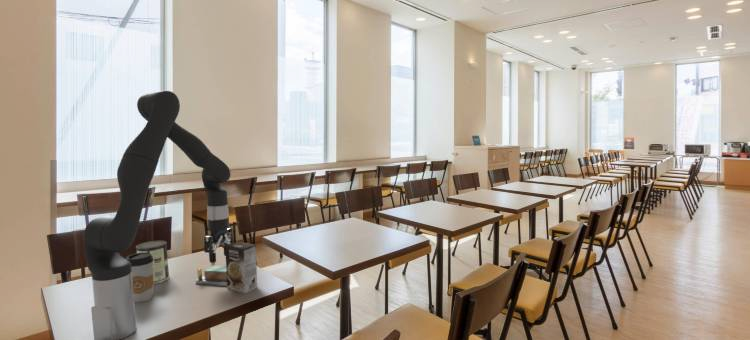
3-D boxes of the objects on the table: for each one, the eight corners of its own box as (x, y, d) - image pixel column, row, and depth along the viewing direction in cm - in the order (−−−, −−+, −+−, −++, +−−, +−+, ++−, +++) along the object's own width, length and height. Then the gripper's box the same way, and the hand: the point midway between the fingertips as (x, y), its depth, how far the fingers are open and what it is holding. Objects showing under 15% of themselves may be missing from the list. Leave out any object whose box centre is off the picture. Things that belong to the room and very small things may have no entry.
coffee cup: (124, 305, 129) (120, 261, 128) (132, 295, 137) (128, 253, 136) (152, 301, 132) (149, 258, 130) (158, 292, 140) (155, 251, 138)
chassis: (228, 286, 143) (228, 273, 143) (195, 283, 147) (194, 270, 146) (245, 275, 154) (245, 262, 154) (214, 273, 157) (213, 260, 157)
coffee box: (226, 289, 141) (224, 245, 140) (240, 282, 147) (238, 240, 145) (244, 293, 137) (242, 248, 135) (258, 287, 143) (256, 243, 141)
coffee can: (153, 273, 157) (151, 239, 156) (175, 276, 155) (172, 241, 153) (132, 283, 147) (129, 247, 146) (154, 286, 145) (152, 249, 143)
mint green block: (204, 279, 148) (204, 270, 148) (212, 273, 154) (212, 265, 153) (230, 279, 147) (229, 271, 147) (236, 274, 152) (236, 266, 152)
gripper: (221, 212, 156) (223, 252, 157) (196, 220, 142) (199, 264, 143) (238, 213, 154) (239, 254, 155) (214, 221, 140) (217, 265, 141)
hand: (220, 259), depth 149 cm, fingers open, 8 cm apart
